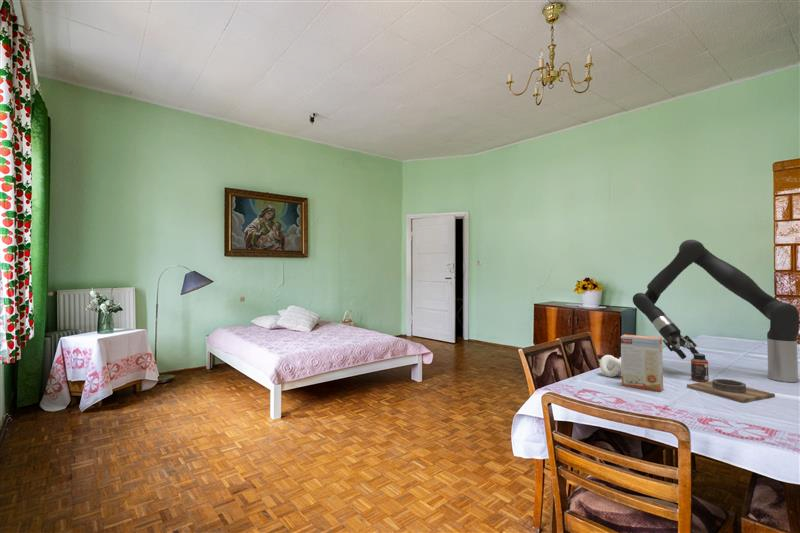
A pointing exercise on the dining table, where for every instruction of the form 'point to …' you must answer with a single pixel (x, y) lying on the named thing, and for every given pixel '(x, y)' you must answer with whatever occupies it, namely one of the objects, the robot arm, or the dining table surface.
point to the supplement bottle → (699, 368)
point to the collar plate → (729, 395)
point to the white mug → (610, 365)
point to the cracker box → (642, 362)
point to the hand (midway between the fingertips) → (691, 357)
